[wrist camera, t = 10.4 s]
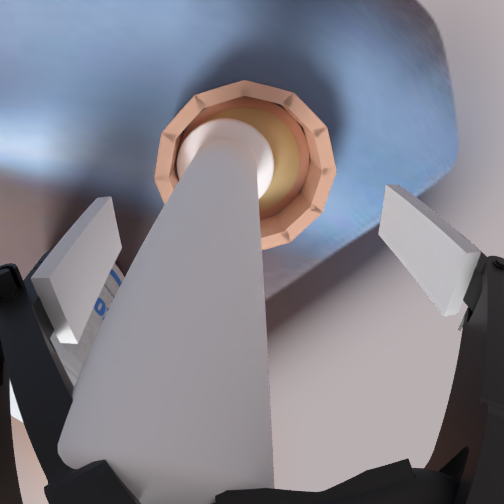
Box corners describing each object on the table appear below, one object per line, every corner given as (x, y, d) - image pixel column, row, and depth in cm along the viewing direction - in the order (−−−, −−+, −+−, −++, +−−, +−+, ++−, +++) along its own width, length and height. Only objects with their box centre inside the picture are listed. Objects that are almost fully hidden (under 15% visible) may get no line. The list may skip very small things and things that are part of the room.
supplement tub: (147, 307, 31) (116, 439, 18) (76, 325, 31) (32, 437, 19) (100, 223, 26) (21, 345, 13) (29, 254, 26) (-48, 358, 14)
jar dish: (143, 113, 22) (130, 119, 18) (299, 66, 21) (311, 63, 18) (196, 247, 28) (192, 270, 24) (332, 208, 27) (346, 226, 24)
